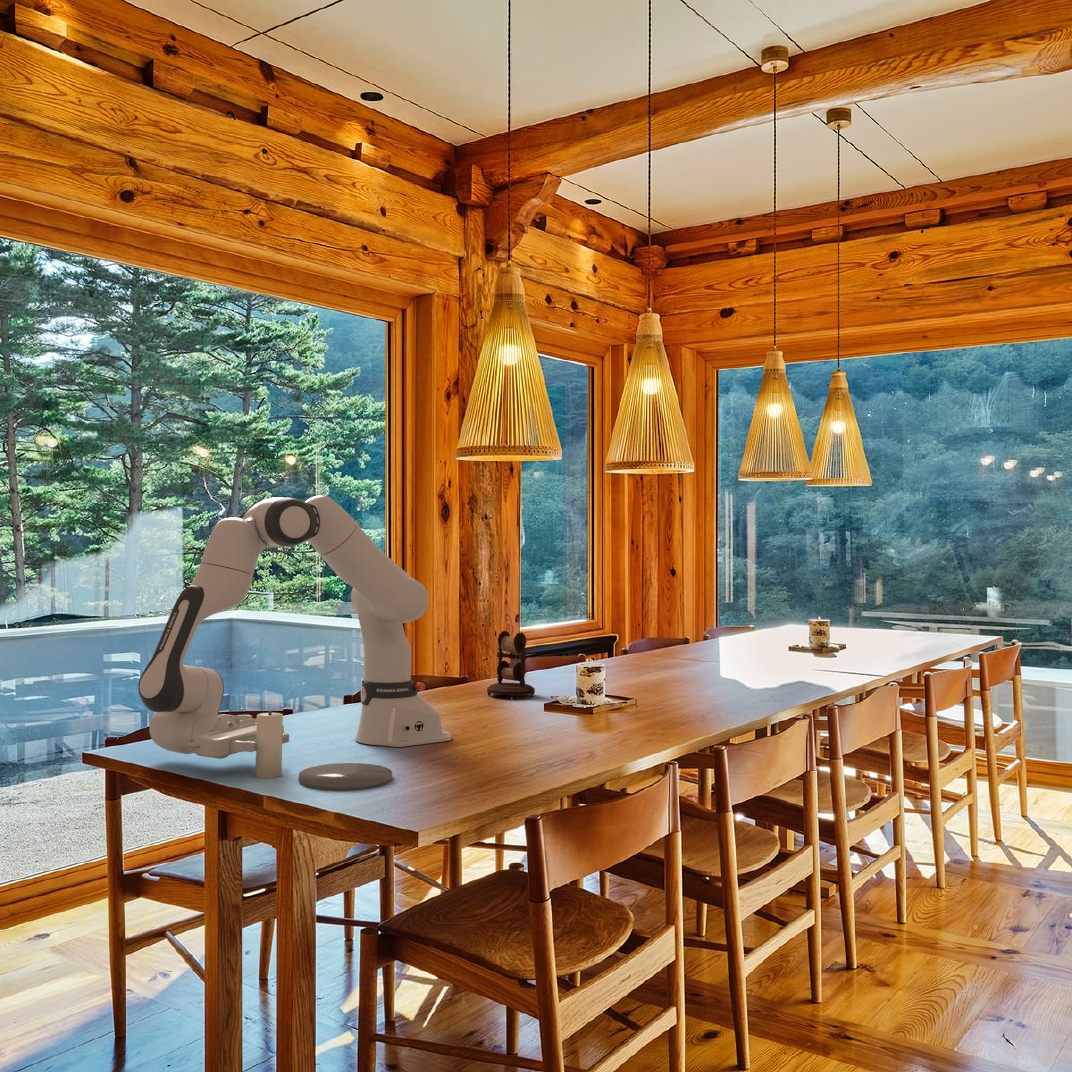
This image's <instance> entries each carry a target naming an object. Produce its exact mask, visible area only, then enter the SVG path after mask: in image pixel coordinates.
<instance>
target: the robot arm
mask: <svg viewBox="0 0 1072 1072" xmlns="http://www.w3.org/2000/svg"><path fill="white" fill-rule="evenodd" d="M304 542H308V543H309V544H310V545H311V546H312V547H313V549H314V550H315V551H316V552H317V554H318V555H319V556H320V557H321V558H322V560H324V562H325V563H326V564H327V565H328V566H329V567H330V568H331V570H332V571H333V572H334V573H335V574H336V575H337V576H338V578H339V579H341V580H342V581H343V582H345V583H346V584H347V585H349V586H351V587H352V589H351V592H350V600H351V601H350V602H351V604H352V606H353V608H354V610H355V612H356V615H357V617H358V618H357V619H358V622H359V628H360V631H361V636H362V637H361V638H362V644H363V679H361V687H360V701H361V704H362V705H361V713H360V718H359V725H358V729H357V733H356V736H355V738H354V740H355V742H358V743H361V744H366V745H373V746H387V747H392V748H393V747H394V748H400V747H409V746H417V745H425V744H426V745H427V744H432V743H433V744H434V743H440V742H448V741H451V740H452V735H451V733H450V732H449V731H447V730H444V729H443V724H442V718H441V714H440V713H439V711H438V710H437V709H435V708H434V707H433V706H432V705H430V704H429V702H427V701H426V700H424V699H423V698H421V696H419V695H418V694H419V692H424V691H425V690H426V685H425V684H424V682H421V681H420V682H419V681H418V682H416V681H414V680H413V679H412V675H411V673H412V672H411V671H412V646H411V644H410V641H408V638H407V636H406V634H405V633H406V632H405V629H404V625H403V624H405V623H410V622H413V621H417V620H418V619H420V618H421V617H422V616H424V614H425V613H426V611H427V610H428V607H429V602H430V601H429V593H428V590H427V588H426V587H425V586H424V584H423V583H421V582H420V581H418V580H417V579H415V578H414V577H412V576H411V575H410V574H408V572H406V571H405V570H404V569H403V568H401V566H399V565H398V564H397V563H396V562H395V561H394V560H392V559H391V557H389V556H388V555H387V554H385V553H384V552H383V551H382V550H381V549H380V548H379V547H378V546H377V545H376V544H375V543H374V542H373V540H371V538H370V537H369V536H368V534H366V532H365V531H364V530H363V529H362V527H361V526H360V525H359V524H358V523H357V522H356V521H355V520H354V519H353V517H352V516H351V515H350V514H349V513H348V512H347V511H346V510H345V509H344V508H343V507H342V506H341V505H340V504H338V503H337V502H336V501H334V500H333V499H332V498H331V497H329V496H327V495H325V494H324V495H322V494H320V495H315V496H312V497H310V498H309V499H307V500H306V501H302V500H301V499H298V498H294V497H288V496H287V497H281V496H280V497H279V496H278V497H270V498H267V499H261V500H260V499H259V500H258V501H255V502H254V503H252V504H251V505H250V506H248V507H247V508H246V509H245V510H244V512H243V513H241V515H240V516H239V517H227V518H222V519H221V520H219V521H218V522H217V523H216V524H215V526H214V528H213V530H212V532H211V533H210V535H209V538H208V540H207V543H206V545H205V547H204V551H203V554H202V557H201V560H200V564H199V566H198V567H199V568H198V570H197V573H196V575H195V577H194V579H193V580H192V581H191V583H190V585H188V587H186V588H184V589H183V590H182V592H180V593H179V596H178V597H177V599H176V601H175V603H174V605H173V608H172V610H171V612H170V615H169V616H168V619H167V621H166V624H165V626H164V629H163V631H162V633H161V636H160V639H159V641H158V643H157V646H156V648H155V650H154V653H153V654H152V657H151V659H150V661H149V662H148V663H147V665H146V667H145V668H144V670H143V671H142V673H141V675H140V678H139V681H138V685H137V686H138V687H137V688H138V695H139V697H140V700H141V702H142V703H143V705H144V707H146V709H148V710H149V711H150V712H153V713H155V714H154V715H153V716H152V717H151V719H150V722H149V728H148V729H149V735H150V738H151V740H152V741H153V743H154V744H155V745H157V747H159V748H161V749H164V750H166V751H169V752H173V753H178V754H183V755H191V754H195V755H197V756H200V757H204V758H205V757H206V758H212V759H218V760H219V759H220V760H222V759H226V758H227V757H229V756H230V755H235V754H238V753H243V752H247V753H253V752H256V751H257V750H258V747H257V746H258V743H257V742H256V731H257V718H253V715H251V714H237V715H236V714H234V715H233V714H225V713H220V709H221V707H222V706H221V705H222V703H223V698H224V693H225V692H224V691H225V685H224V681H223V679H222V676H221V675H220V673H219V672H218V671H217V670H216V669H214V668H210V667H205V666H204V667H203V666H197V665H188V664H184V661H185V658H186V656H187V653H188V651H189V648H190V645H191V643H192V641H193V638H194V636H195V633H196V631H197V629H198V627H199V625H200V624H202V622H203V621H204V620H205V619H207V618H209V617H210V616H213V615H216V614H219V613H223V612H227V611H230V610H232V609H234V608H236V607H237V606H239V605H240V604H242V602H244V600H245V599H246V598H247V595H248V594H249V591H250V588H251V585H252V581H253V576H254V573H255V567H256V565H257V564H256V563H257V561H258V558H259V556H260V554H261V553H262V551H263V550H264V549H265V548H271V549H281V548H286V547H287V548H292V547H295V546H298V545H301V544H302V543H304ZM418 691H419V692H418ZM289 742H290V734H289V733H286V732H285V726H284V725H283V734H282V745H283V744H287V743H289Z"/></svg>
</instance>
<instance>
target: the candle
mask: <svg viewBox="0 0 1072 1072" xmlns="http://www.w3.org/2000/svg"><path fill="white" fill-rule="evenodd" d="M256 719H257V731H256V742H257V743H258V746H257V747H258V750H257V751H255V773H254V774H255V778H258V779H275V778H280V777H282V768H283V766H282V765H283V764H282V763H283V744H282V734H283V726H284V714H283V713H280V712H272V710H268V711H267V712H262V713H258V714H256Z"/></svg>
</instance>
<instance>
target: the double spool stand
mask: <svg viewBox="0 0 1072 1072" xmlns="http://www.w3.org/2000/svg"><path fill="white" fill-rule="evenodd" d="M497 644H498V647H497V650H498V651H497V653H496V657H497V659H498V660H497V661H498V662H497V667H496V674H497V683H492V684H490V685H489V686H487V687H486V692H487V696H488V697H490V696H491V694H493V695H500V696H509V698H513V699H514V697H515V696H526V695H530V696H531V695H534V694H535V692H536V688H535V687H534V686H532V685H530V684H528V683H526V679H525V678H526V674H527V672H526V660H527V659H528V657H527V654H526V645H527V637H526V635H525V634H524V633H523V632H522V631H521V632H518V633H516V634H515V636H511V634H510V632H509V631H507V630H503V631H501V632H500V633H499V634H498V637H497ZM504 652H505V653H504ZM506 652H507V653H506ZM508 652H509V653H508ZM503 658H504V659H506V658H508V659H509V661H510V663H509V662H508V661H507V660H503ZM503 680H507V681H515V682H503ZM534 696H535V695H534Z"/></svg>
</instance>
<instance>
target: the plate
mask: <svg viewBox="0 0 1072 1072" xmlns="http://www.w3.org/2000/svg"><path fill="white" fill-rule="evenodd" d="M391 781H393V770H391V769H390V768H388V767H385V766H384V765H378V764H373V763H362V762H361V763H360V762H357V763H356V762H343V763H342V762H339V763H328V764H321V765H316V766H311V767H307V768H305V769H303V770H301V771H300V772H299V774H298V783H299V784H300V785H302V786H304V787H306V788H311V789H314V790H323V791H344V792H345V791H346V792H347V791H358V790H359V791H360V790H361V791H362V790H367V789H369V790H370V789H373V788H378V787H382V786H384V785H387V784H389V783H391Z"/></svg>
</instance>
